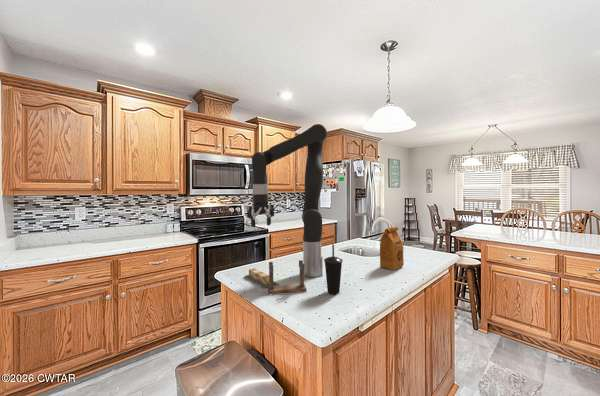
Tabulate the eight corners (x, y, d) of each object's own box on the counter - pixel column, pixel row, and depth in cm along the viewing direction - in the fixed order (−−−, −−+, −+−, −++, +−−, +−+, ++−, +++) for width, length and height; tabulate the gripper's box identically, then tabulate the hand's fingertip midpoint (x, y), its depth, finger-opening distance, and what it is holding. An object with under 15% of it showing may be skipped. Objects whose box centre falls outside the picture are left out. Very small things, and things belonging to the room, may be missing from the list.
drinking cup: (338, 297, 100) (338, 247, 99) (321, 293, 104) (320, 245, 103) (345, 291, 106) (345, 243, 106) (329, 287, 110) (328, 242, 110)
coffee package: (406, 267, 137) (406, 227, 137) (393, 271, 130) (392, 229, 130) (391, 263, 146) (390, 225, 145) (377, 267, 138) (376, 227, 138)
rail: (273, 283, 114) (273, 277, 114) (267, 285, 112) (267, 278, 112) (254, 274, 128) (254, 268, 128) (248, 275, 126) (248, 269, 126)
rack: (304, 287, 111) (304, 260, 111) (306, 292, 105) (306, 263, 105) (267, 289, 109) (267, 262, 108) (268, 295, 103) (267, 265, 103)
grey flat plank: (244, 276, 126) (244, 275, 126) (256, 273, 130) (256, 272, 130) (265, 288, 110) (265, 287, 110) (278, 284, 115) (278, 283, 115)
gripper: (251, 193, 117) (252, 228, 118) (276, 193, 126) (277, 225, 127) (243, 193, 123) (244, 227, 123) (268, 193, 132) (269, 224, 133)
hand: (261, 226), depth 125 cm, fingers open, 8 cm apart
